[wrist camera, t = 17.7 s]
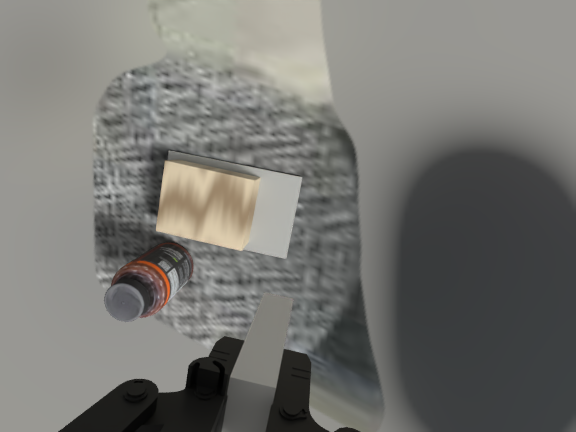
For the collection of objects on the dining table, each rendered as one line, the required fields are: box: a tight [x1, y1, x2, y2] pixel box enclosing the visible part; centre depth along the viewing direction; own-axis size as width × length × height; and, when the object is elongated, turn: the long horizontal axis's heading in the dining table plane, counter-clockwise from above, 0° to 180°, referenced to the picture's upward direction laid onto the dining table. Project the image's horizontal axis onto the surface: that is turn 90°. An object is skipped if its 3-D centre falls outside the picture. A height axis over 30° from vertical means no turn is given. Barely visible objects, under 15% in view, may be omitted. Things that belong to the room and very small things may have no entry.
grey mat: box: [168, 150, 302, 259], centre depth 42 cm, size 10×16×1 cm, turn 79°
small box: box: [156, 159, 261, 251], centre depth 40 cm, size 8×4×10 cm
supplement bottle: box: [104, 243, 193, 322], centre depth 39 cm, size 6×6×11 cm
